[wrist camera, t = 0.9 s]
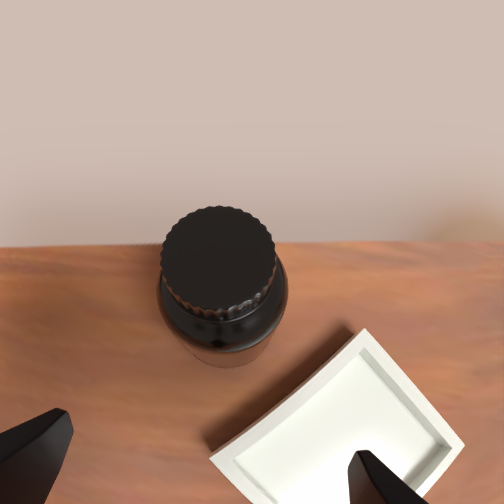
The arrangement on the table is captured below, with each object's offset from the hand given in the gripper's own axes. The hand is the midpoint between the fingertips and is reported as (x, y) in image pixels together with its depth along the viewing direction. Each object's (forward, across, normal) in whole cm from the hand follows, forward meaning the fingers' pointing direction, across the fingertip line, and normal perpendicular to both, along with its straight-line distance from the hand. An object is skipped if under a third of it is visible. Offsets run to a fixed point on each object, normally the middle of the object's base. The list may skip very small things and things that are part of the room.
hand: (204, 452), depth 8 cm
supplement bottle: (+15, +1, +3) cm, 16 cm away
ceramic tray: (+9, -9, +11) cm, 17 cm away
